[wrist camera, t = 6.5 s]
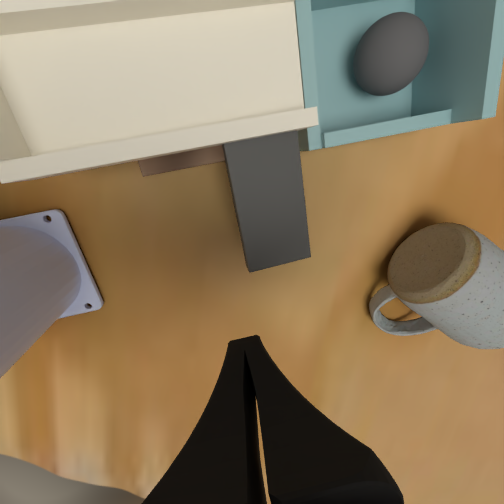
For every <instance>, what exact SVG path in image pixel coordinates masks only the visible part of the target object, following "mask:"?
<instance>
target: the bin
mask: <svg viewBox="0 0 504 504" xmlns="http://www.w3.org/2000/svg"><path fill="white" fill-rule="evenodd" d="M294 5H295V16H296V26H297V37H298V48H299V58H300V69H301V79H302V90H303V100H304V109H305V108H311V107H316V106H317V112H318V124H319V125H316V126H313V127H309V128H306V129H302V130H299V131H298V141H299V150H300V151H310V150H316V149H321V148H328V147H333V146H338V145H343V144H348V143H353V142H359V141H364V140H369V139H374V138H379V137H384V136H389V135H394V134H400V133H405V132H410V131H415V130H420V129H425V128H430V127H435V126H441V125H446V124H451V123H458V122H465V121H472V120H479V119H485V118H490V117H495V115H496V108H497V101H498V94H499V86H500V79H501V72H502V65H503V57H504V0H295V1H294ZM395 12H408V13H412V14H414V15H416V16H417V17H419V18H420V19H421V20H422V21H423V23H424V24H425V26H426V28H427V31H428V34H429V50H428V55H427V58H426V61H425V63H424V65H423V67H422V69H421V71H420V72H419V74H418V75H417V76H416V77H415V79H414V80H413V81H412V82H411V83H410V84H409V85H407V86H406V87H405V88H403V89H402V90H400V91H398V92H396V93H394V94H390V95H386V96H375V95H372V94H369V93H367V92H365V91H364V90H363V89H362V88H361V87H360V86H359V85H358V83H357V81H356V79H355V76H354V71H353V60H354V55H355V51H356V48H357V45H358V43H359V41H360V39H361V38H362V36H363V35H364V33H365V32H366V31H367V30H368V28H369V27H370V26H371V25H372V24H374V23H375V22H376V21H377V20H379V19H380V18H382V17H384V16H386V15H388V14H391V13H395Z"/></svg>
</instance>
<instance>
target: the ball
mask: <svg viewBox="0 0 504 504" xmlns="http://www.w3.org/2000/svg"><path fill="white" fill-rule="evenodd" d="M428 50H429V34H428V31H427V28H426V26H425V24H424V23H423V21H422V20H421V19H420V18H419V17H417V16H416V15H414V14H412V13H408V12H395V13H391V14H388V15H386V16H384V17H382V18H380V19H379V20H377V21H376V22H375V23H374V24H372V25H371V26H370V27H369V28H368V30H367V31H366V32H365V33H364V35H363V36H362V38H361V39H360V41H359V43H358V45H357V48H356V51H355V55H354V60H353V71H354V76H355V79H356V81H357V83H358V85H359V86H360V87H361V88H362V89H363V90H364V91H365V92H367V93H369V94H372V95H375V96H386V95H390V94H394V93H396V92H398V91H400V90H402V89H403V88H405V87H406V86H407V85H409V84H410V83H411V82H412V81H413V80H414V79H415V77H416V76H417V75H418V74H419V72H420V71H421V69H422V67H423V65H424V63H425V61H426V58H427V55H428Z"/></svg>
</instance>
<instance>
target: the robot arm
mask: <svg viewBox="0 0 504 504" xmlns="http://www.w3.org/2000/svg"><path fill="white" fill-rule="evenodd" d="M47 215H48V216H50V217H51V219H52V220H51V221H48V220H47V218H46V216H47ZM87 303H89V304H91V305H92V306H88V305H87ZM102 306H103V300H102V297H101V295H100V293H99V291H98V288H97V286H96V284H95V282H94V279H93V277H92V275H91V273H90V270H89V268H88V266H87V264H86V261H85V259H84V257H83V254H82V252H81V250H80V248H79V245H78V243H77V241H76V239H75V236H74V234H73V232H72V230H71V227H70V225H69V223H68V221H67V218H66V216H65V214H64V213H63V212H62V211H61V210H58V209H54V210H48V211H43V212H38V213H33V214H28V215H23V216H18V217H13V218H8V219H3V220H0V378H1V377H2V376H3V375H4V374H5V373H6V372H7V371H8V370H9V369H10V368H11V367H12V366H13V365H14V364H15V363H16V362H17V361H18V360H19V358H20V357H21V356H22V355H23V354H24V353H25V352H26V351H27V350H28V349H29V348H30V347H31V346H32V345H33V344H34V343H35V342H36V341H37V340H38V339H39V338H40V337H41V336H42V335H43V333H44V332H45V331H46V330H47V329H48V328H49V327H50V326H51V325H52V324H53V323H54V322H55V321H56V320H57V319H59V318H63V317H68V316H72V315H77V314H81V313H86V312H90V311H94V310H98V309H100V308H101V307H102ZM256 399H257V404H258V411H259V418H260V426H261V433H262V441H263V449H264V458H265V466H266V475H267V484H268V493H269V497H270V501H271V504H404V500H403V495H402V493H401V491H400V489H399V487H398V485H397V484H396V482H395V481H394V479H393V478H392V476H391V475H390V473H389V472H388V470H387V469H386V467H385V466H384V465H383V463H382V462H381V461H380V459H379V458H378V457H377V456H376V454H375V453H374V452H373V451H372V449H370V448H369V447H367V446H366V445H364V444H363V443H361V442H360V441H358V440H357V439H355V438H354V437H352V436H351V435H350V434H348V433H347V432H345V431H344V430H343V429H341V428H340V427H339V426H337V425H336V424H335V423H333V422H332V421H331V420H330V419H328V418H327V417H326V416H325V415H324V414H322V413H321V412H320V411H319V410H318V409H317V408H315V407H314V406H313V405H312V404H311V403H310V402H309V401H308V400H307V399H306V398H305V397H303V396H302V394H301V393H300V392H299V391H298V390H297V389H296V388H295V387H294V386H293V385H292V384H291V383H290V382H289V381H288V379H287V378H286V377H285V376H284V375H283V373H282V372H281V371H280V370H279V368H278V367H277V366H276V364H275V363H274V361H273V360H272V359H271V357H270V356H269V354H268V353H267V351H266V349H265V348H264V346H263V344H262V342H261V339H260V336H258V335H254V336H250V337H245V338H241V339H237V340H232V341H230V342H229V343H228V348H227V352H226V356H225V360H224V363H223V366H222V369H221V372H220V375H219V378H218V380H217V383H216V385H215V388H214V390H213V392H212V395H211V397H210V399H209V402H208V404H207V406H206V408H205V410H204V412H203V414H202V416H201V418H200V420H199V421H198V423H197V425H196V427H195V428H194V430H193V432H192V434H191V435H190V437H189V439H188V440H187V442H186V444H185V445H184V447H183V448H182V450H181V451H180V453H179V454H178V456H177V457H176V458H175V460H174V461H173V463H172V464H171V466H170V467H169V469H168V470H167V472H166V473H165V474H164V476H163V477H162V478H161V480H160V481H159V482H158V484H157V485H156V486H155V487H154V489H153V490H152V491H151V492H150V494H149V495H148V496H147V498H146V499H145V500H144V501H143V503H142V504H267V501H266V494H265V488H264V481H263V475H262V468H261V461H260V451H259V438H258V424H257V410H256Z"/></svg>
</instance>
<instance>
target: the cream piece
mask: <svg viewBox="0 0 504 504" xmlns="http://www.w3.org/2000/svg"><path fill="white" fill-rule="evenodd" d="M294 1H295V0H0V181H1V183H11V182H19V181H28V180H36V179H41V178H47V177H52V176H57V175H63V174H68V173H73V172H79V171H84V170H90V169H95V168H100V167H106V166H111V165H116V164H122V163H127V162H132V161H138V160H143V159H149V158H154V157H159V156H165V155H170V154H175V153H181V152H186V151H192V150H197V149H202V148H208V147H213V146H218V145H222V148H223V153H224V158H225V163H226V168H227V173H228V177H229V182H230V187H231V192H232V197H233V202H234V207H235V212H236V217H237V222H238V227H239V231H240V236H241V241H242V246H243V251H244V256H245V261H246V266H247V268H248V270H249V272H254V271H258V270H262V269H266V268H270V267H274V266H278V265H281V264H285V263H289V262H293V261H297V260H301V259H305V258H309V257H311V254H310V245H309V235H308V226H307V216H306V207H305V197H304V188H303V179H302V169H301V160H300V150H299V141H298V131H299V130H302V129H306V128H309V127H313V126H316V125H319V124H318V112H317V106H316V107H311V108H305V109H304V100H303V90H302V79H301V69H300V58H299V48H298V37H297V26H296V16H295V5H294Z"/></svg>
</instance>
